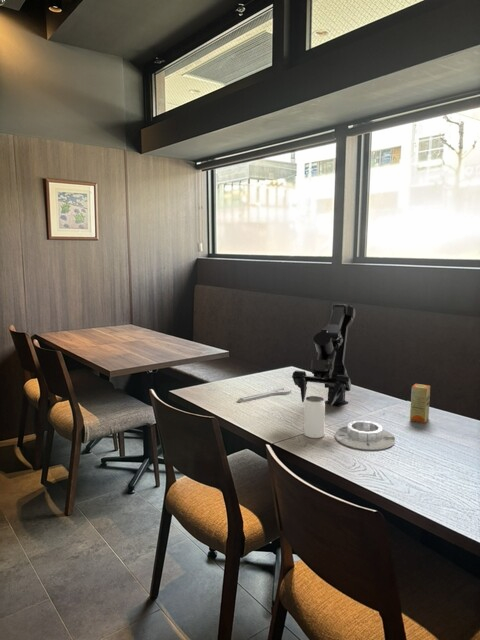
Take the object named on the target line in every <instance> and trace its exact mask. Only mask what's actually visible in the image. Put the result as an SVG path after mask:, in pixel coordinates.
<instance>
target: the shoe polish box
mask: <svg viewBox="0 0 480 640" xmlns="http://www.w3.org/2000/svg"><path fill="white" fill-rule="evenodd" d="M430 398H431V385H429V384H420V383H415V384H413V385H412V386H411V393H410V412H409V414H410V415H409V421H410V420H412V421H411V422H415V421H417V422H416V423H420V422H422V424H426V423H427V421H428V420H429V417H430V414H429V413H430V402H431V401H430ZM425 422H426V423H425Z"/></svg>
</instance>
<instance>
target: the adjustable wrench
mask: <svg viewBox="0 0 480 640" xmlns="http://www.w3.org/2000/svg"><path fill="white" fill-rule="evenodd" d="M291 393H292V389H291V388H288V389H286V390H285V387H277V388H274V389H273V390H271V391H267V392H263V393H257V394H253V395H247V396H243V397H238V398H237V403H239V402H243V403H246V402H250V401H256V400H259V399H264V398H268V397H273V396H281V395H282V396H283V395H284V396H285V395H290V394H291Z"/></svg>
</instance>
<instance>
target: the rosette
mask: <svg viewBox="0 0 480 640" xmlns="http://www.w3.org/2000/svg"><path fill="white" fill-rule="evenodd" d="M334 436H335V440H336V441H337V442H338V443H340V444H341V445H343V446H346V447H347V448H352V449H354V450H355V449H356V450H360V451H383V450H387V449H390V448H392V447H393V446H394V445H395V443H396V442H395V441H396V439H395V438H396V437H395V436H394V435H393V434H392V433H391V432H390V431H388V430H385V429H383V426H382V425H381V424H379V423H377V422H374V421H368V420H354V421H351V422H348V424H347V426H343V427H341V428H338V429H337V430H336V431H335V433H334Z"/></svg>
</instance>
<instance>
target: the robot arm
mask: <svg viewBox="0 0 480 640" xmlns="http://www.w3.org/2000/svg"><path fill="white" fill-rule="evenodd" d="M355 318H356V309H355V307H354V306H352V305H348V304H346V303H334V304H333V305H332V306H331V315H330V318H329V321H328V324H327V325H326V326H325V327H323V328H322V329H321V331H319V332H317V333H316V334H315V335H314V336H313V343H314V346H315V349H316V353H318V354H317V359H311V365H310V370H311V374H312V375H308V374H307V373H306V371H303V370H295V371H293V373H292V376H291V378H292V380H293V383H294V385H295V386H297V388H298V389H299V388H300V396H301V402H302V403H305V401H306V396H307V395H306V394H307V388H308V387H307V385H308V383H316V384H324V388H325V389H327V388H328V390H327V391H328V392H327V400H325V401H324V403H325V404H329V406H331V407H332V406H335V407H339V406H340V407H341V406H342V405H346V404H347V405H348V404H349V401H347V400H346V392H350V391H351V387H352V383H351V382H352V381H351V378H350V376H349V375H348V370H347V369H346V366H345V355H346V349H347V347H346V346H347V341H348V340H347V339H348V331H349V328H350V327H351V326H352V325H353V324H354V323H353V322H354V319H355Z"/></svg>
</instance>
